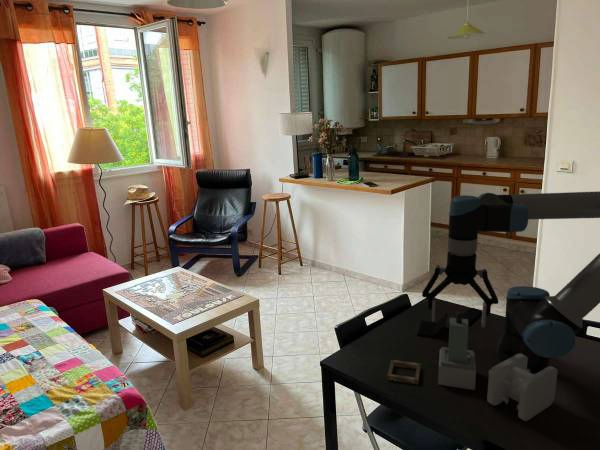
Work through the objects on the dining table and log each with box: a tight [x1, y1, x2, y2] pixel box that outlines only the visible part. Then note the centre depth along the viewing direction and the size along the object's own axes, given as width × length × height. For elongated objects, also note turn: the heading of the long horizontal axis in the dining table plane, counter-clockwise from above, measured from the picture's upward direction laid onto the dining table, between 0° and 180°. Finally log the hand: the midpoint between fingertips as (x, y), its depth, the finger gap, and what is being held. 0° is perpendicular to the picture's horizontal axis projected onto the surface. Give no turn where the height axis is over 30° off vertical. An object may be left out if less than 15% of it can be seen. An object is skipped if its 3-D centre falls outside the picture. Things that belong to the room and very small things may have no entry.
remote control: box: [462, 307, 482, 327], centre depth 170 cm, size 5×2×15 cm
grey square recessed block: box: [437, 346, 477, 391], centre depth 132 cm, size 10×10×7 cm
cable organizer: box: [486, 354, 558, 422], centre depth 118 cm, size 15×11×12 cm
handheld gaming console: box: [416, 312, 449, 339], centre depth 160 cm, size 12×7×10 cm
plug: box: [447, 311, 469, 364], centre depth 129 cm, size 5×5×15 cm
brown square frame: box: [386, 359, 421, 386], centre depth 135 cm, size 9×9×2 cm
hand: (457, 322), depth 128 cm, fingers open, 13 cm apart
